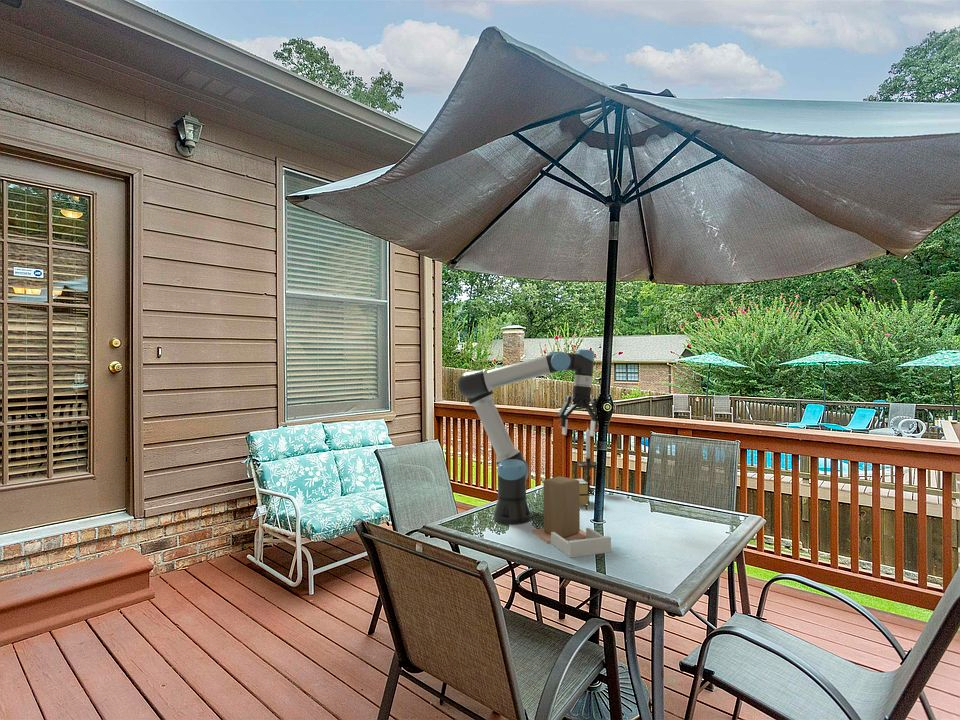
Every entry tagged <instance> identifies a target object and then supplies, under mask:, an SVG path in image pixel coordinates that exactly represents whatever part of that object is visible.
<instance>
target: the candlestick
mask: <svg viewBox="0 0 960 720" xmlns="http://www.w3.org/2000/svg"><path fill="white" fill-rule="evenodd" d="M586 427H587V429H586V430H585V446H586V447H585V450H586V451H585V453H586V455H585V457H584V459H585V461H584V460H583V461H578V462H577V463H576V466H577V467H579V468H585V469H586V476H585V477H584V478H585V480H586V482H587V483H588V494H593V495H592V496H595V495H594V492H593V491H594V490H595V488H594V489H593V488H591V483H592V482H591V480H592V476H591V473H590V472H591V469H592V468H593V469H594V468H597V467H596V462H597V461H591V460H592V459H593V458H592V457H591V436H590V428H589V427H590V426H589V423H588V422H586ZM589 492H590V493H589ZM592 492H593V493H592Z"/></svg>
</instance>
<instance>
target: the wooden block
mask: <svg viewBox="0 0 960 720" xmlns="http://www.w3.org/2000/svg"><path fill="white" fill-rule="evenodd" d="M576 479H577V478H570V477H566V476H559V475H558V476H555V477H550V478H547V479H544V480H543V528H544V532H546V533H549V534H551V532H555V533H557V534H558V535H559V536H561V537H562V538H565V537H568V536H571V535H574V534H577V533H579V531H580V529H581V528H580V527H581V524H580V523H581V522H580V517H581V516H580V515H581V513H580V510H581V509H580V507H581V506H580V501H579V481H578V480H576Z"/></svg>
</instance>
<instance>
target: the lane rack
mask: <svg viewBox="0 0 960 720" xmlns="http://www.w3.org/2000/svg"><path fill="white" fill-rule="evenodd" d="M585 532H586V538H585V539H577V540H569V541H567V540H565V539H564V538H562V537H561V536H559V535H558V534H557V533H555V532H551V543H552V545H553V546H554V547H555V546H556V547H555V548H557V549H558V548H559V549H560V550H559V549H558V550H559V551H560V552H562V551H563V552H564V554H565V555H566V556H567V555H568V556H567V557H569V558H571V557H572V558H579V557H585V556H592V555H598V554H599V555H600V554H606V553H612V537H611V536H609V535H607V536H606V535H602V534H601V533H599V532H597V531H596V530H594V529H593V528H591V527H586V528H585ZM551 543H550V544H551ZM563 552H562V553H563Z"/></svg>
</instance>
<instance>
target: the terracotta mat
mask: <svg viewBox="0 0 960 720" xmlns="http://www.w3.org/2000/svg"><path fill="white" fill-rule="evenodd" d="M530 531H532V532H531V533H532V534H534V533H535V534H536V536H537V538H539V537H540V538H539V539H541V540H542V539H543V540H544V541H543V540H542V541H543V542H544V543H546V542H547V543H546V544H551V543H550V542H551V534H549V533H546V532H544V527H543V528H535V529H531V530H530ZM535 534H534V535H535ZM583 538H585V539H586V531H584V530H583V529H581V528H580V531H579V533H577V534H574V535H571V536H568V537H565V538H564V539H565V540H569V541H573V540H574V539H577V540H581V539H583Z"/></svg>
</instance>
